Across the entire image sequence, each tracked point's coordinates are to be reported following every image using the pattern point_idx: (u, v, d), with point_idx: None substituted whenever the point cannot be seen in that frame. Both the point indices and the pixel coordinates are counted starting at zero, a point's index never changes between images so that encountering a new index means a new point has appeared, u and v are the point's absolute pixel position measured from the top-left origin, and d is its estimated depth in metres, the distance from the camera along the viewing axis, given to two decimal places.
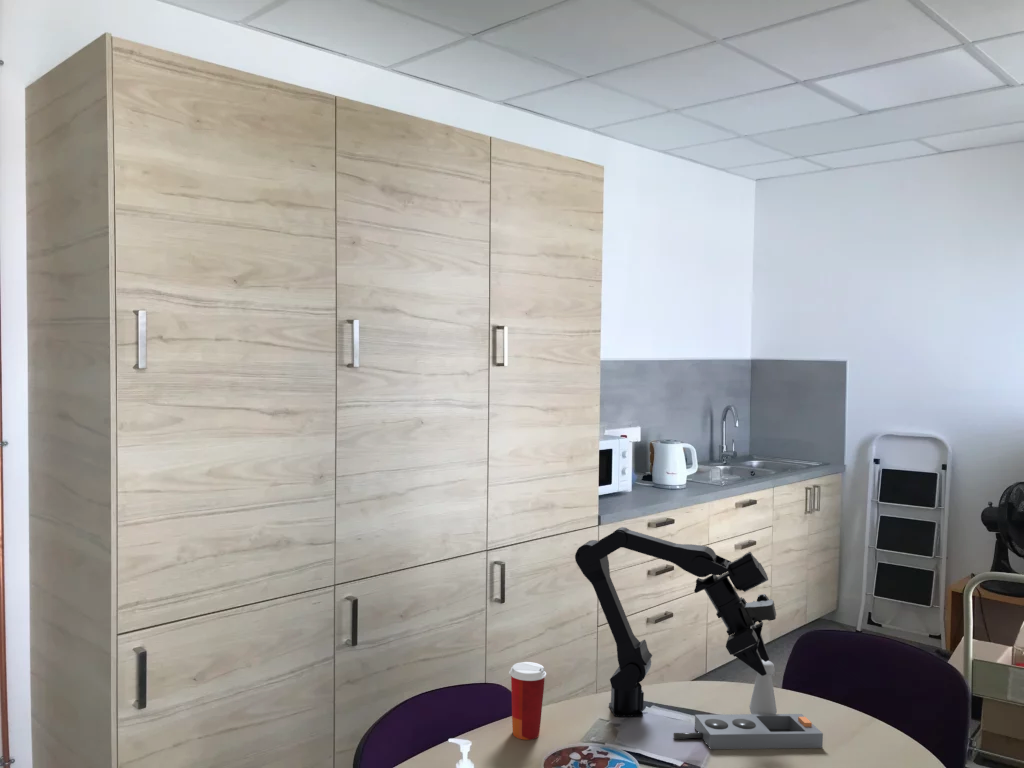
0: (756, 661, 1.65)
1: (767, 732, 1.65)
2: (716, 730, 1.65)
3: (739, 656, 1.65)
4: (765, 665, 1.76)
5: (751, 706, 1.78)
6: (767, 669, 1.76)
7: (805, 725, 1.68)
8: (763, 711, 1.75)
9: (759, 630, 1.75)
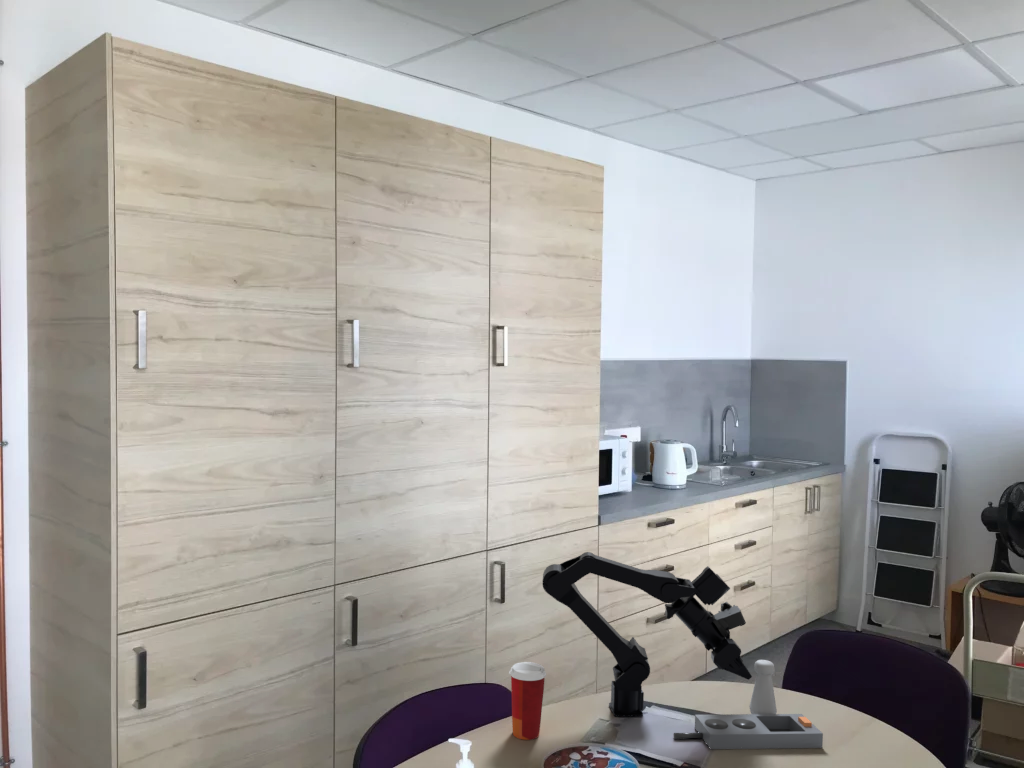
0: (741, 668, 1.73)
1: (767, 732, 1.65)
2: (716, 730, 1.65)
3: (726, 668, 1.72)
4: (765, 665, 1.76)
5: (751, 706, 1.78)
6: (767, 669, 1.76)
7: (805, 725, 1.68)
8: (763, 711, 1.75)
9: (728, 637, 1.83)
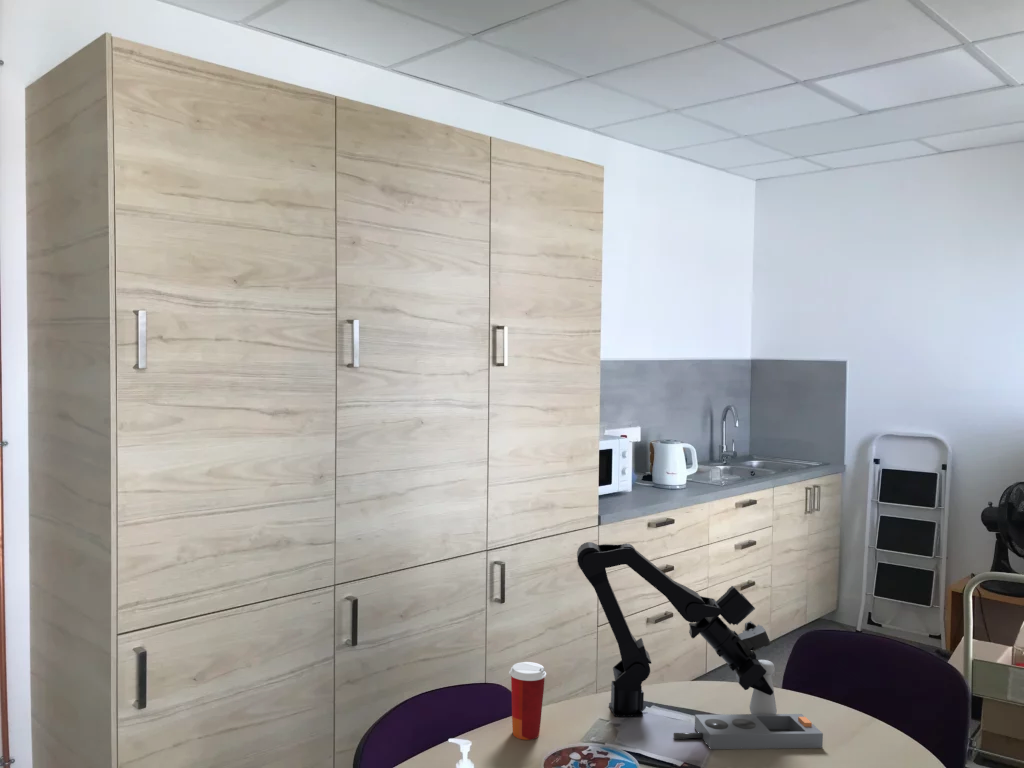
0: (763, 683, 1.75)
1: (767, 732, 1.65)
2: (716, 730, 1.65)
3: None
4: (765, 665, 1.76)
5: (751, 706, 1.78)
6: (767, 669, 1.76)
7: (805, 725, 1.68)
8: (763, 711, 1.75)
9: None
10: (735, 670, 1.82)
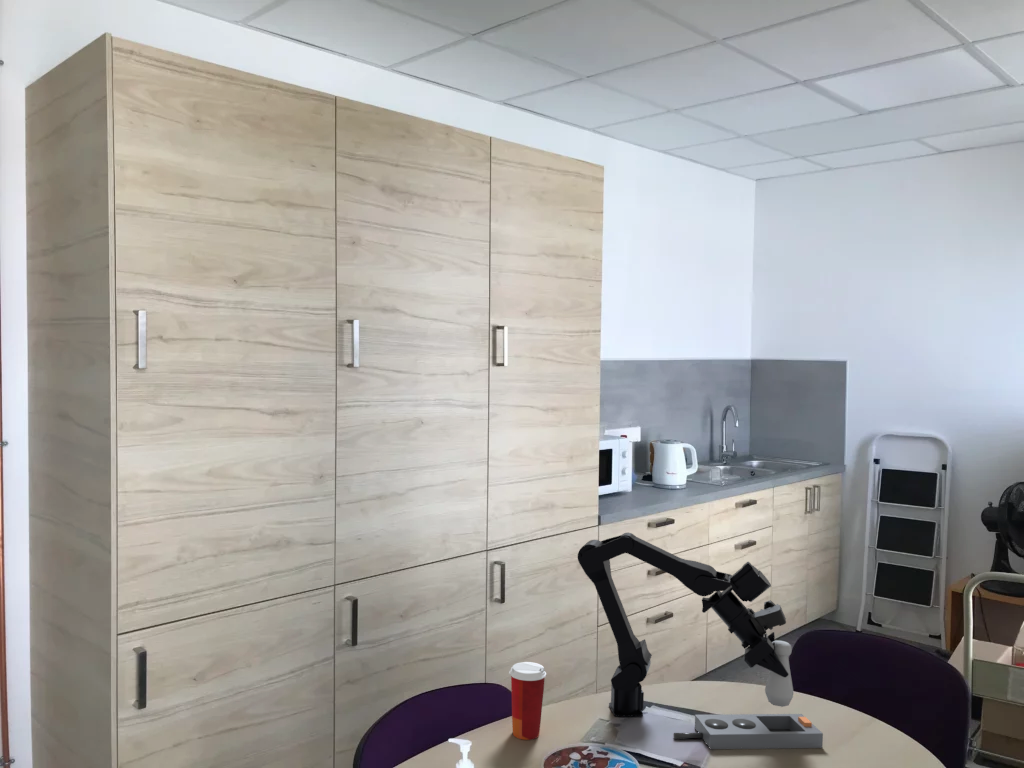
0: (776, 664, 1.68)
1: (767, 732, 1.65)
2: (716, 730, 1.65)
3: (759, 663, 1.68)
4: (780, 646, 1.69)
5: (766, 687, 1.71)
6: (782, 650, 1.68)
7: (805, 725, 1.68)
8: (776, 693, 1.68)
9: (772, 641, 1.73)
10: None
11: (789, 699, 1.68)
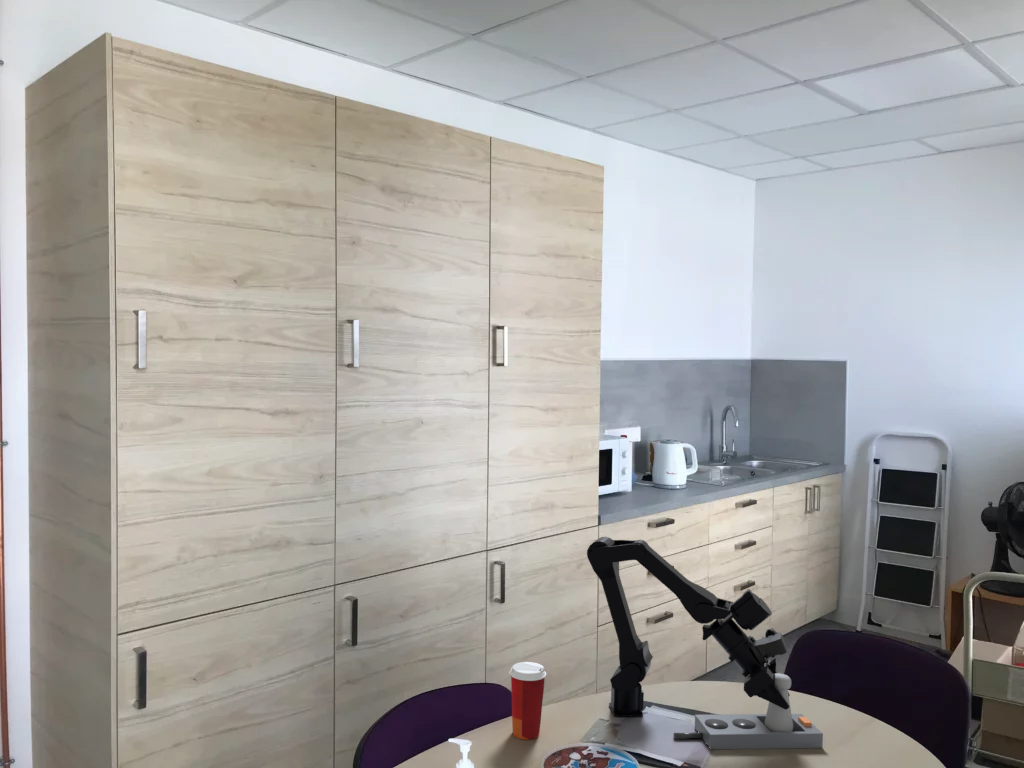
0: (777, 696, 1.65)
1: (767, 732, 1.65)
2: (716, 730, 1.65)
3: (759, 694, 1.66)
4: (779, 679, 1.68)
5: (765, 721, 1.69)
6: (781, 684, 1.67)
7: (805, 725, 1.68)
8: (775, 727, 1.67)
9: (774, 667, 1.73)
10: None
11: None
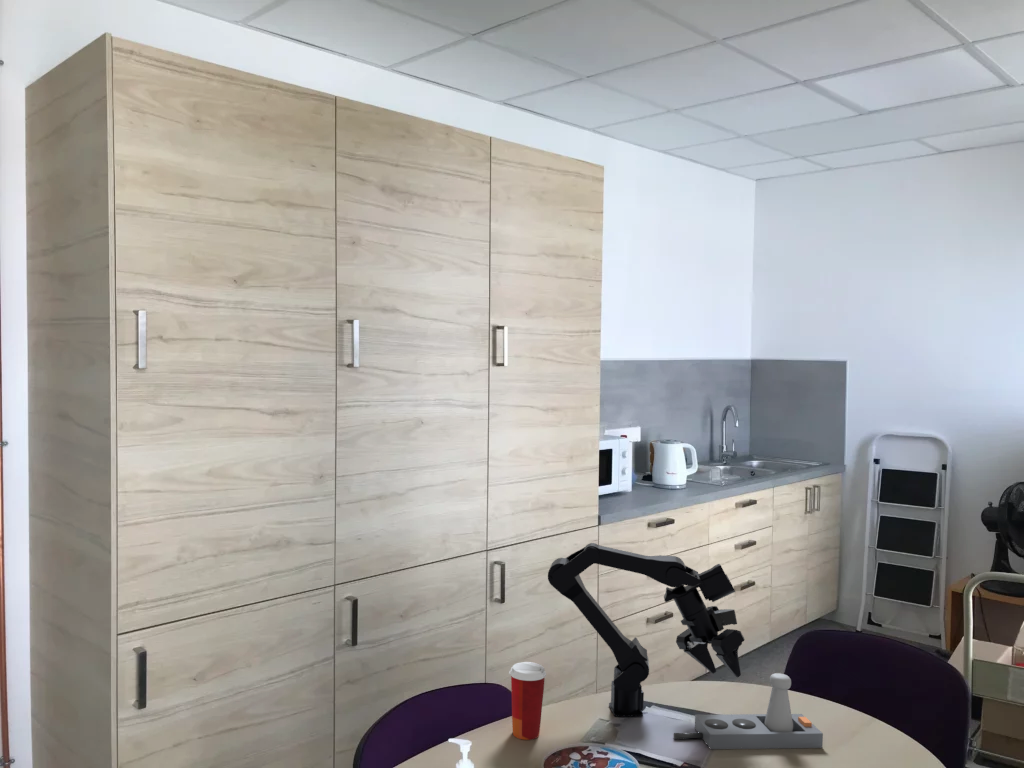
0: (735, 662, 1.72)
1: (767, 732, 1.65)
2: (716, 730, 1.65)
3: (724, 657, 1.70)
4: (779, 679, 1.68)
5: (765, 721, 1.69)
6: (781, 684, 1.67)
7: (805, 725, 1.68)
8: (775, 726, 1.67)
9: (706, 643, 1.83)
10: (687, 651, 1.82)
11: None
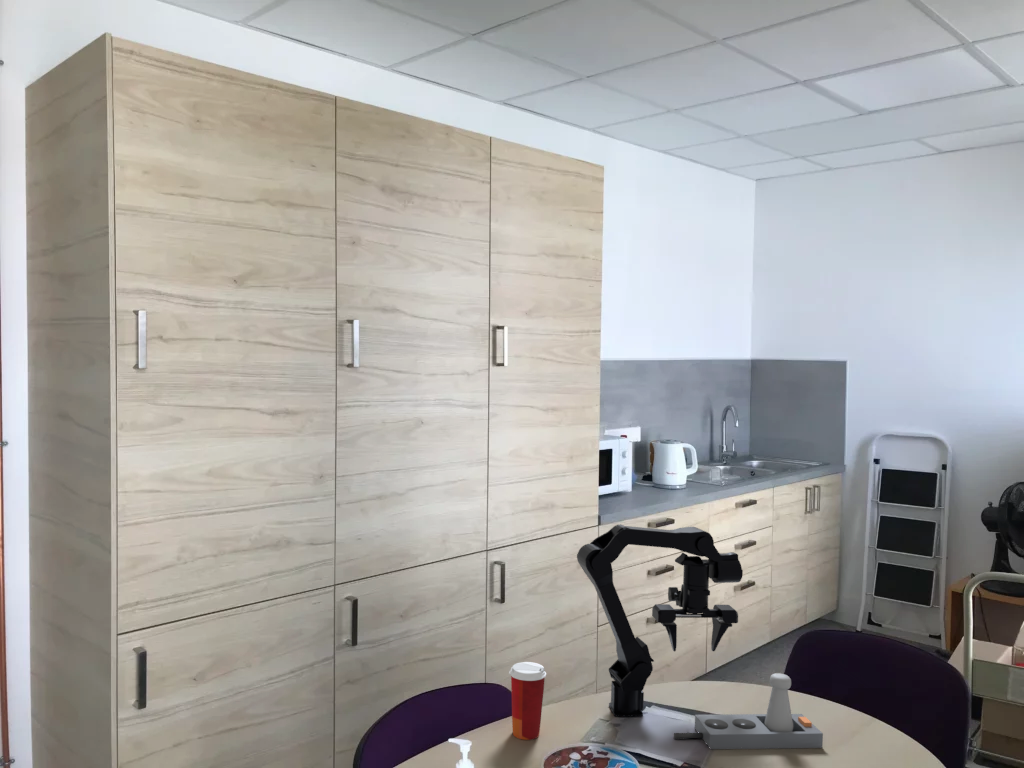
0: None
1: (767, 732, 1.65)
2: (716, 730, 1.65)
3: None
4: (779, 679, 1.68)
5: (765, 721, 1.69)
6: (781, 684, 1.67)
7: (805, 725, 1.68)
8: (775, 726, 1.67)
9: None
10: (672, 624, 1.80)
11: None
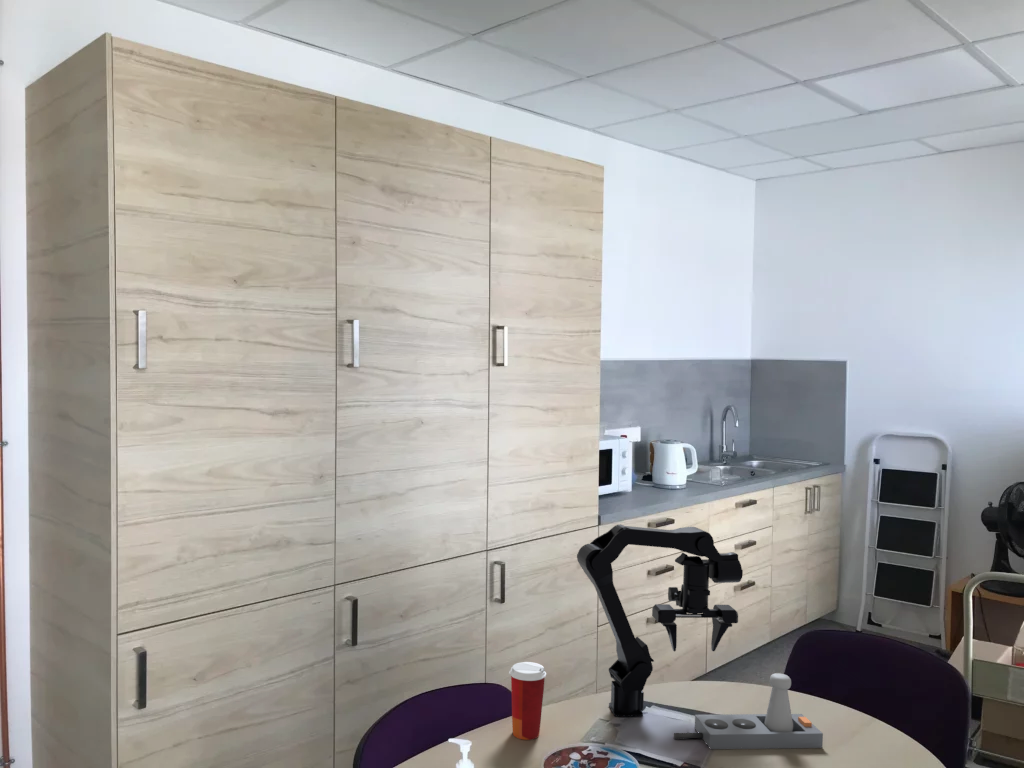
0: None
1: (767, 732, 1.65)
2: (716, 730, 1.65)
3: None
4: (779, 679, 1.68)
5: (765, 721, 1.69)
6: (781, 684, 1.67)
7: (805, 725, 1.68)
8: (775, 726, 1.67)
9: None
10: (672, 624, 1.80)
11: None
